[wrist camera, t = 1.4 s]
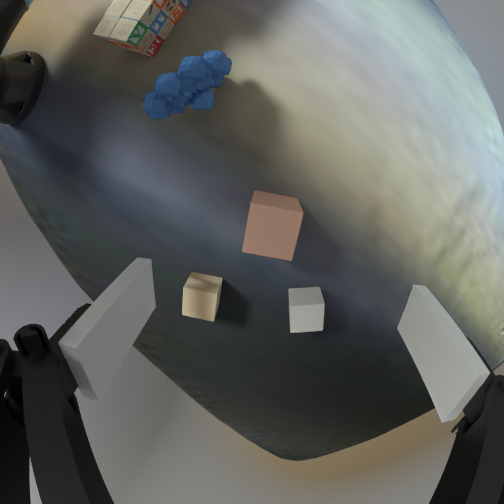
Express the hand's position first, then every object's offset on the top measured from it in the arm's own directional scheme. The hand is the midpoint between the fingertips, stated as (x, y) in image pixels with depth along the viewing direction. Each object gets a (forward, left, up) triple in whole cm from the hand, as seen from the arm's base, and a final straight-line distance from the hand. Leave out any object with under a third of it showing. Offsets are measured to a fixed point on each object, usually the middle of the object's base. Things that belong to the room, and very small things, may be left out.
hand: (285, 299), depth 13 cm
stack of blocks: (-20, +28, -28) cm, 44 cm away
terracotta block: (0, -3, -27) cm, 28 cm away
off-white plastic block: (+8, -16, -27) cm, 33 cm away
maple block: (-8, -17, -27) cm, 33 cm away
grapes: (-12, +12, -27) cm, 32 cm away
